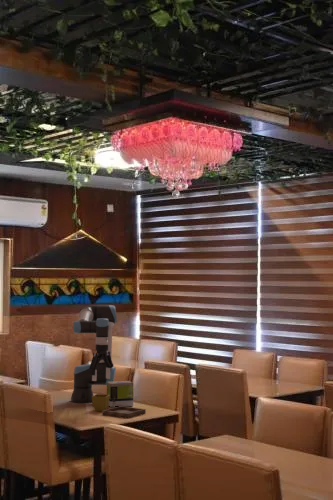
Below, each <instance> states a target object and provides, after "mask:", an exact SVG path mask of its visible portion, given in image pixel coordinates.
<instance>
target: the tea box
mask: <svg viewBox="0 0 333 500" xmlns="http://www.w3.org/2000/svg"><path fill="white" fill-rule="evenodd" d="M106 395H110V397H109V404H108V407H109V406H110V407H109V408H115V406H124V407H134V383H133V381H130V380H122V381H121V380H119V381H116V380H114V382H107V385H106Z"/></svg>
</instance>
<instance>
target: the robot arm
mask: <svg viewBox="0 0 333 500" xmlns="http://www.w3.org/2000/svg"><path fill="white" fill-rule="evenodd" d="M117 322H118V318H117V310H116V306H115V305H114V304H113V305H112V304H89V305H87V306H84V307H83V308H82V309H81V310H80V312H79V314H78V320H74V321H73V322H72V332H73V334H95V352H93V354H92V359H91V362H90V363H87V364H80V365H76V366H75V367H74V369H73V389H72V393H71V395H70V402H72V403H78V404H80V403H81V404H83V403H85V404H86V403H92V396H94V393H93V386H97V385H98V386H99V385H100V386H107V382H115V377H116V366H114V365H115V364H114V363H113V360H112V356H113V355H112V351H113V350H112V348H113V347H112V346H113V345H112V344H113V327H114V326H115V324H116V323H117Z"/></svg>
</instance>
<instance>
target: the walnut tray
mask: <svg viewBox="0 0 333 500" xmlns="http://www.w3.org/2000/svg"><path fill="white" fill-rule="evenodd" d="M146 411H147V409H146V408H137V407H133V406H119V407H110V408H108V409H107V408H106V410H103V411H102V416H110V417H114V418H116V417H117V418H123V419H130V418H131V419H132V418H135V417H137V416H142V415H145V414H144V413H146ZM141 414H142V415H141ZM146 414H147V413H146Z"/></svg>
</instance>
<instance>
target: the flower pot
mask: <svg viewBox="0 0 333 500" xmlns="http://www.w3.org/2000/svg"><path fill="white" fill-rule="evenodd" d="M109 397H110V395H107V394H104V393H103V394H98V393H95V394H93V396H92V402H91V403H92V408H93V409H94V411H95V412H103V410H106V409H107V408H108V407H109V406H108V404H109Z"/></svg>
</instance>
